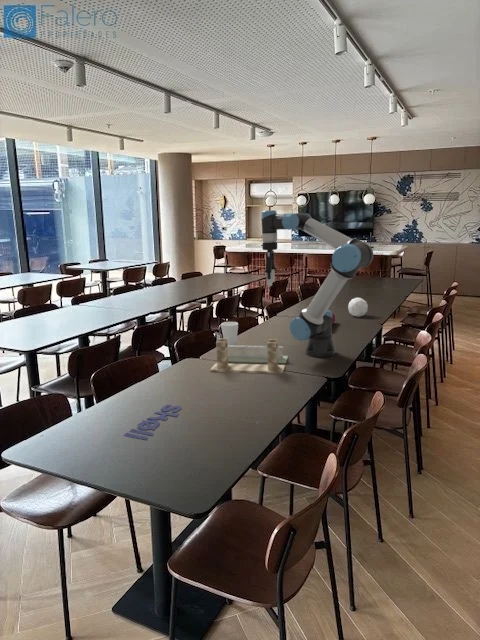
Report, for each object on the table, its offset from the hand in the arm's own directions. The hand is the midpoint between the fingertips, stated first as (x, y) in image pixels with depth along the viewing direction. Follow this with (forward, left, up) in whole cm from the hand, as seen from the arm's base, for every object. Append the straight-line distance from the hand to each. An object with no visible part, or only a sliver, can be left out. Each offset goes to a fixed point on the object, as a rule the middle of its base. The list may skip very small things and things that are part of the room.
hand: (270, 283), depth 243 cm
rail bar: (+8, +13, -36) cm, 39 cm away
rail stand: (+8, +29, -37) cm, 47 cm away
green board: (+8, +13, -37) cm, 40 cm away
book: (-20, -61, -37) cm, 74 cm away
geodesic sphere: (-48, -95, -37) cm, 112 cm away
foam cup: (+25, -11, -37) cm, 46 cm away
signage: (+30, +90, -37) cm, 102 cm away
